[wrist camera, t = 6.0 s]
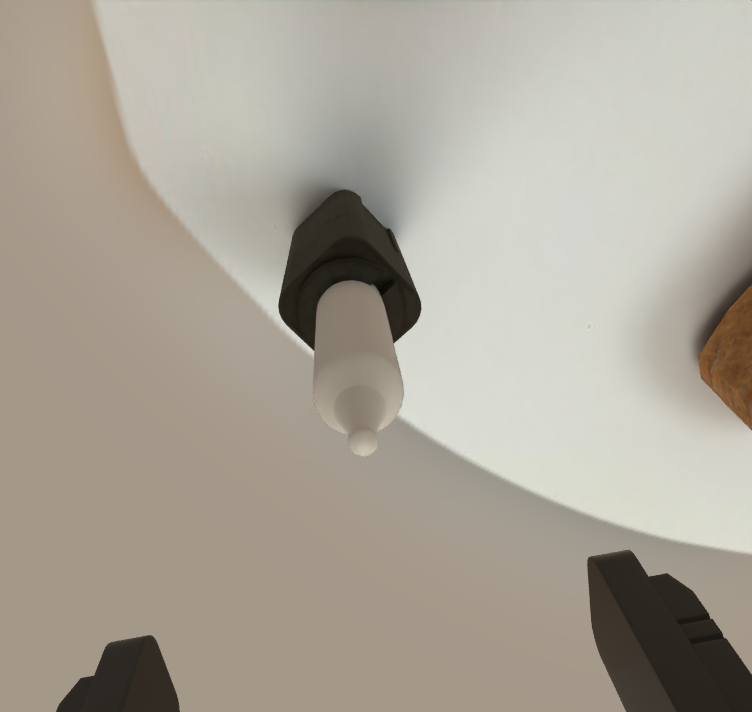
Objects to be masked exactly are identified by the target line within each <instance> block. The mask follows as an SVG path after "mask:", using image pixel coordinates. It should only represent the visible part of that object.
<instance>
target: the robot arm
mask: <svg viewBox="0 0 752 712" xmlns="http://www.w3.org/2000/svg"><path fill="white" fill-rule="evenodd" d="M587 566H588V581H589V595H590V610H591V622H592V629H593V633H594V638H595V641H596V645H597V648H598V651H599V654H600V656H601V659H602V661H603V663H604V665H605V667H606V669H607V672H608V674H609V676H610V678H611V680H612V682H613V684H614V687H615V688H616V691H617V693H618V695H619V697H620V699H621V701H622V704H623V706H624V708H625V710H626V712H752V674H751V673H750V672H749V670H748V669H747V667H746V666H745V665H744V663H743V662H742V661H741V659H740V658H739V656H738V655H737V653H736V652H735V650H734V649H733V647H732V646H731V645H730V643H729V642H728V640H727V639H726V638H724V637H723V634H722V632H721V630H720V629H719V628H718V626H717V625H716V623H715V622H714V620H713V619H710V616H709V613H708V612H707V610H706V609H705V608H704V607H703V605H702V604H701V602H700V601H699V599H698V598H697V596H696V595H695V594H694V592H693V591H692V590H690V589H689V588H687V587H686V586H685V585H683V584H682V583H680V582H679V581H678V580H676V579H675V578H673V577H672V576H670V575H669V574H662V575H656V576H650V577H648V575H647V574H646V572H645V570H644V569H643V567H642V566H641V564H640V563H639V561H638V559H637V558H636V556H635V555H634V553H633V552H632V551H630V550H624V551H619V552H614V553H608V554H602V555H597V556H591V557H589V558H588V564H587ZM56 712H180V710H179V702H178V698H177V694H176V691H175V689H174V686H173V683H172V681H171V678H170V675H169V673H168V670H167V667H166V665H165V662H164V660H163V657H162V654H161V652H160V649H159V646H158V644H157V641H156V640H155V638H154V637H153V636H151V635H148V636H143V637H137V638H132V639H126V640H121V641H115V642H111V643H109V644H108V645H107V646H106V647H105V650H104V652H103V654H102V657H101V660H100V662H99V665H98V667H97V670H96V673H95V675H94V676H90V677H85V678H81V679H80V680H79V681H78V682H77V684H76V685H75V686H74V687H73V688H72V689H71V691H70V692H69V693H68V694H67V696H66V697H65V698H64V699H63V700H62V702H61V703H60V704H59V706H58V708H57V711H56Z"/></svg>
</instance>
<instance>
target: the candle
mask: <svg viewBox="0 0 752 712" xmlns="http://www.w3.org/2000/svg"><path fill="white" fill-rule="evenodd" d="M278 307H279V313H280V316H281V318H282V320H283V321H284V322H285V323H286V325H287V326H288V327H289V328H290V329H291V330H293V331H294V332H295V333H296V334H297V335H298V336H299V337H300V338H301V339H302V340H303V341H304V342H305V343H306V344H307V345H308V346H309V347H311V348H312V349H313V350H314V351H315V353H314V375H313V399H314V405H315V407H316V409H317V411H318V413H319V415H320V417H321V418H322V419H323V420H324V421H325V423H326V424H327V425H329V426H330V427H332V428H333V429H335V430H336V431H339V432H342V433H344V434H348V435H349V437H348V446H349V448H350V450H351V451H352V452H353V453H354V454H356V455H359V456H367V455H370V454H372V453H373V452H374V451H375V450H376V448H377V446H378V436H377V434H376V432H377V431H380V430H381V429H383V428H384V427H386V426H387V425H389V424H390V423H391V421H392V420H393V419H394V418H395V417H396V416H397V414H398V412H399V410H400V408H401V406H402V401H403V397H404V387H403V380H402V376H401V372H400V368H399V364H398V360H397V356H396V351H395V347H394V343H395V342H396V341H397V340H398V339H399V338H400V337H402V336H403V335H404V334H405V333H406V332H407V331H408V330H410V329H411V328H412V327H413V326H414V324H415V323H416V322H417V320H418V318H419V316H420V313H421V301H420V298H419V296H418V293H417V291H416V288H415V286H414V283H413V281H412V278H411V276H410V273H409V271H408V268H407V266H406V263H405V261H404V258H403V256H402V254H401V251H400V249H399V246H398V244H397V241H396V239H395V236H394V234H393V232H392V231H391V230H390V229H385V228H384V227H383V226H382V225H381V224H380V222H379V221H378V220H377V219H376V218H375V217H374V216H373V215H372V214H371V213H370V212H369V211H368V210H367V209H366V208H365V206H364V205H363V204H362V201H361V198H360V196H358V195H357V194H356V193H354V192H352V191H348V190H342V191H338V192H335V193H334V194H333V195H331V196H330V197H329V198H328V199H327V200H326V201H325V202H324V203H323V204H322V205H321V206H320V207H319V208H318V209H317V210H316V211H315V212H313V213H312V214H311V215H310V216H309V217H308V218H307V219H306V220H305V221H304V222H303V223H302V224H301V225H300V226H299V227H298V228H297V229H296V231H295V232H294V234H293V237H292V242H291V247H290V251H289V256H288V261H287V266H286V270H285V275H284V280H283V284H282V289H281V294H280V298H279V306H278Z"/></svg>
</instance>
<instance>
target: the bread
mask: <svg viewBox="0 0 752 712" xmlns="http://www.w3.org/2000/svg"><path fill="white" fill-rule="evenodd" d="M698 357H699V365H700V373H701V378H702V379H703V380H704V382H705V383H706V384H707V385H708V386H709V387H710V388H711V389H712V390H713V391H714V392H715V393H716V394H717V395H718V396H719V397H720V398H721V400H722V401H723V402H724V403H725V404H726V405H727V406H728V407H729V408H730V409H731V410H732V411H733V412H734V413H735V414H736V415H737V416H738V417H739V418H740V419H741V420H742V421H743V422H744V423H745V424H746V425H747V426H748V427H749V428H750V429H751V430H752V285H751V286H750V287H749V288H748V289H747V290H746V291H745V292H744V293H743V294H742V295H741V296H740V297H739V298H738V299H737V301H736V302H735V303H734V304H733V305H732V306H731V307H730V308H729V309H728V311H727V312H726V314H725V315H724V317H723V318H722V320H721V321H720V323H719V324H718V326H717V327H716V329H715V330H714V332H713V333H712V335H711V337H710V338H709V340H708V341H707V343H706V345H705V346H704V348H703V349H702V351H701V353H700V354H699V356H698Z"/></svg>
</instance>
